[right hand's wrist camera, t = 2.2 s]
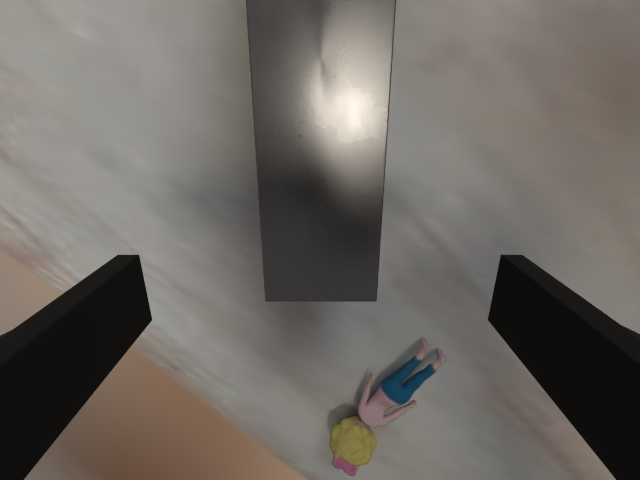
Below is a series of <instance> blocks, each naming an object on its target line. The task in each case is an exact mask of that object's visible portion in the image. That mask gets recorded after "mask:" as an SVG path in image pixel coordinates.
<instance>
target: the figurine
mask: <svg viewBox="0 0 640 480" xmlns="http://www.w3.org/2000/svg"><path fill="white" fill-rule="evenodd" d="M421 343H422V347H421V350H420V351H419V353H418V354H417V355H415V356H414V357H413V358H412V359H411V360H410V361H408V362H407V363H405V364H404V365H403V366H402V367H401V368H400V369H398V370H397V371H396V372H395V373H393V374H392V375H391V376H389V377H387V378H386V379H385V380H384V381H382V382H381V383H380V385H379V387H378V389H377V391H376V392H375V394H374V395H373V396H372V397H371V398H370V400H369V401H368V402H367V400H368V397H369V393H370V389H371V382H372V377H373V373H370V375H369V378H368V384H367V385H366V386H365V387H364V391H363V394H362V396H361V399H360V402H359V405H358V414H359V416H353V417H349V418H345V419H343V420H342V421H341V422H340V424H337V425H335V426H333V427H332V429H331V431H330V436H331V437H330V450H331V451H332V453H333V455H334V458H333V466H334V467H335V468H338V469H341V468H342V469H343V470H344V471H345V473H347V474H348V475H350V476H354V475H355V474H356V472H357V469H358V467H359V466H360V465H362V464H367V463H368V462H369V461H370V460H371V455H372V454H373V452H374V449H375V447H376V442H377V441H376V437H375V435H374V433H373V432H372V431H371V430H370V428H369V426H370V427H379V426H383V425H385V424H387V423H389V422H391V421H393V420H395V419H397V418H398V417H399V416H401V415H402V414H404V413H405V412H406V410H407V409H408V408H413V407H414V406H416V405H417V401H415V400H412V401H410V402H409V404H408V405H406V406H403V407H400V408H398V409H396V410H395V411H393V412H392V413H390V414H388V415H385V416H384V412H385V411H386V410H387V409H388V408H391V407H395V406H400V405H402V404H404V403H406V402H407V401H408V400H409V399H410V398H411V396H412V394H413V393H414V392H415V390H416V389H418V388H419V387H420V385H421V384H422V383H423V382H424V381H425V380H426V379H427V378H429V377H430V376H431V375H432V374H434V373H435V372H436V370H437V369H438V367H439V366H440V365H441V364H442V363H444V362H445V361H446V359H445V356H444V355H443V353H442V352H441V351H440V350H439V349H438V350H437V359H436V361H435V362H434V363H432V364H430V365H428V366H427V367H426V368H425V369H423V370H421V371H419V372H418V373H416V374H415V375H413V376H412V377H411V378H410V379H409V380H407V381H406V382H405V383H404V384H403V385H401V383H402V381H403V380H404V379H405V378H406V377H407V376H408V375H409V374H410V373H411V372H412V371H413V369H414V368H415V367H416V366H417V365H418V364H419V363H420V362H421V361H422V360H423V358H424V356H425V354H426V353H427V352H428V351H429V350H430V346H429V345H428V343H427V342H426V340H424V339H422V340H421Z"/></svg>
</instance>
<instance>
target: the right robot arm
mask: <svg viewBox="0 0 640 480" xmlns="http://www.w3.org/2000/svg"><path fill="white" fill-rule="evenodd" d="M151 321H152V317H151V312H150V307H149V302H148V297H147V292H146V287H145V282H144V277H143V272H142V267H141V262H140V257H139V255H117V256H116V257H114V258H113V259H111V260H110V261H109V262H107V263H106V264H104V265H103V266H102V267H100V268H99V269H97V270H96V271H95V272H93V273H92V274H90V275H89V276H88V277H86V278H85V279H83V280H82V281H81V282H79V283H78V284H76V285H75V286H73V287H72V288H71V289H69V290H68V291H66V292H65V293H64V294H62V295H61V296H59V297H58V298H57V299H55V300H54V301H52V302H51V303H50V304H48V305H47V306H45V307H44V308H43V309H41V310H40V311H38V312H37V313H36V314H34V315H33V316H31V317H30V318H29V319H27V320H26V321H24V322H23V323H21V324H20V325H19V326H17V327H16V328H14V329H13V330H11V331H9V332H7V333H5V334H3V335H1V336H0V480H24V479H25V477H26V476H27V475H28V474H29V472H30V471H31V470H32V469H33V467H34V466H35V465H36V464H37V462H38V461H39V460H40V459H41V457H42V456H43V455H44V454H45V452H46V451H47V450H48V449H49V447H50V446H51V445H52V444H53V442H54V441H55V440H56V439H57V437H58V436H59V435H60V434H61V433H62V431H63V430H64V429H65V428H66V426H67V425H68V424H69V423H70V421H71V420H72V419H73V418H74V416H75V415H76V414H77V413H78V411H79V410H80V409H81V408H82V406H83V405H84V404H85V403H86V401H87V400H88V399H89V398H90V396H91V395H92V394H93V393H94V391H95V390H96V389H97V388H98V387H99V385H100V384H101V383H102V382H103V380H104V379H105V378H106V377H107V375H108V374H109V373H110V372H111V370H112V369H113V368H114V367H115V365H116V364H117V363H118V362H119V360H120V359H121V358H122V357H123V355H124V354H125V353H126V352H127V350H128V349H129V348H130V347H131V345H132V344H133V343H134V342H135V341H136V339H137V338H138V337H139V336H140V334H141V333H142V332H143V331H144V329H145V328H146V327H147V326H148V324H149V323H150V322H151ZM488 321H489V322H490V323H491V324H492V326H493V327H494V328H495V329H496V331H497V332H498V333H499V334H500V336H501V337H502V338H503V339H504V341H505V342H506V343H507V344H508V345H509V347H510V348H511V349H512V350H513V352H514V353H515V354H516V355H517V357H518V358H519V359H520V360H521V362H522V363H523V364H524V365H525V367H526V368H527V369H528V370H529V372H530V373H531V374H532V375H533V377H534V378H535V379H536V380H537V382H538V383H539V384H540V385H541V387H542V388H543V389H544V390H545V391H546V393H547V394H548V395H549V396H550V398H551V399H552V400H553V401H554V403H555V404H556V405H557V406H558V408H559V409H560V410H561V411H562V413H563V414H564V415H565V416H566V418H567V419H568V420H569V421H570V423H571V424H572V425H573V426H574V428H575V429H576V430H577V431H578V433H579V434H580V435H581V436H582V437H583V439H584V440H585V441H586V442H587V444H588V445H589V446H590V447H591V449H592V450H593V451H594V452H595V454H596V455H597V456H598V457H599V459H600V460H601V461H602V462H603V464H604V465H605V466H606V467H607V469H608V470H609V471H610V472H611V474H612V475H613V476H614V477H615V479H616V480H640V334H638V333H636V332H634V331H632V330H630V329H628V328H626V327H624V326H621V325H620V324H619V323H617V322H616V321H614V320H613V319H611V318H610V317H609V316H607V315H606V314H604V313H603V312H602V311H600V310H599V309H597V308H596V307H595V306H593V305H592V304H590V303H589V302H588V301H586V300H585V299H583V298H582V297H581V296H579V295H578V294H576V293H575V292H574V291H572V290H571V289H569V288H568V287H567V286H565V285H564V284H562V283H561V282H559V281H558V280H557V279H555V278H554V277H552V276H551V275H550V274H548V273H547V272H545V271H544V270H543V269H541V268H540V267H538V266H537V265H536V264H534V263H533V262H531V261H530V260H529V259H527V258H526V257H524V256H523V255H501V257H500V262H499V267H498V272H497V277H496V282H495V287H494V292H493V297H492V302H491V307H490V312H489V317H488Z"/></svg>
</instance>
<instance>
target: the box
mask: <svg viewBox="0 0 640 480" xmlns="http://www.w3.org/2000/svg"><path fill="white" fill-rule="evenodd" d="M246 7H247V23H248V38H249V54H250V69H251V85H252V100H253V116H254V132H255V147H256V163H257V178H258V194H259V209H260V225H261V240H262V256H263V272H264V287H265V301H377V287H378V271H379V256H380V240H381V225H382V209H383V194H384V178H385V163H386V147H387V132H388V116H389V101H390V85H391V70H392V54H393V39H394V23H395V8H396V0H246Z"/></svg>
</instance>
